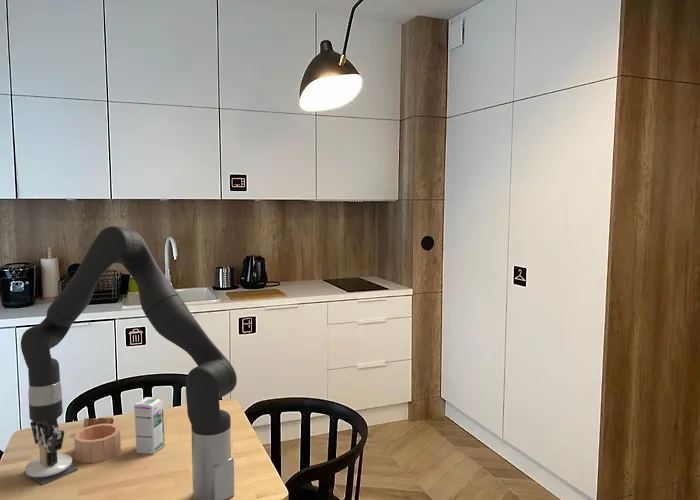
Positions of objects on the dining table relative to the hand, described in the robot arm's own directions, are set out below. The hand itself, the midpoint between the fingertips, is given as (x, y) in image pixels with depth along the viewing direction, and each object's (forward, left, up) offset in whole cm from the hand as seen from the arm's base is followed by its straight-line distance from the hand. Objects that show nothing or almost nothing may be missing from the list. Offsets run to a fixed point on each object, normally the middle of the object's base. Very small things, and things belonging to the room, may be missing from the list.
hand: (48, 462), depth 139 cm
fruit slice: (+12, -20, -3) cm, 24 cm away
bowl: (0, -13, -3) cm, 14 cm away
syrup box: (-10, -23, -3) cm, 26 cm away
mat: (0, 0, -3) cm, 3 cm away
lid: (0, 0, -1) cm, 1 cm away
